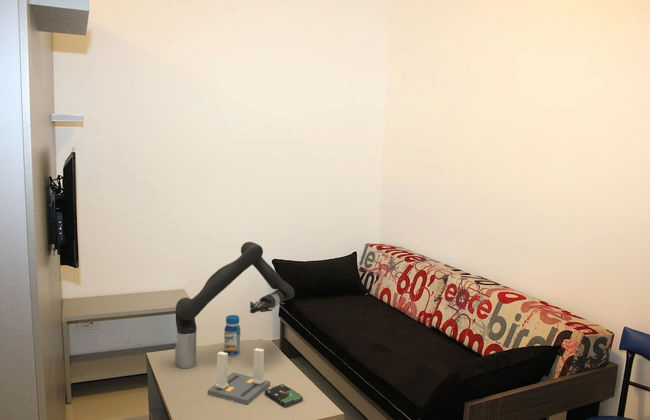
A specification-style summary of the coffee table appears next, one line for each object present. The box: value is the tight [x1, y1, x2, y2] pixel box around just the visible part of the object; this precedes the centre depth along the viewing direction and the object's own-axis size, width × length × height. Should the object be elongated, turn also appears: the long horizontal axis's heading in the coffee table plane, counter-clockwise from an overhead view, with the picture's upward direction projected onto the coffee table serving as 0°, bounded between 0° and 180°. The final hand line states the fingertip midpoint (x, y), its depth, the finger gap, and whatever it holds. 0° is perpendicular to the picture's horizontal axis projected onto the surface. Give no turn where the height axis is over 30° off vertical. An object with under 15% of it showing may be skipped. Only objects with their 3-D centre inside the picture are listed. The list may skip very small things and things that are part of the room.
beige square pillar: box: [214, 351, 229, 389], centre depth 232 cm, size 4×4×15 cm
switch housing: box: [207, 371, 271, 405], centre depth 236 cm, size 20×20×2 cm
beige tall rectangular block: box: [252, 347, 265, 385], centre depth 238 cm, size 4×4×15 cm
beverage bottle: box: [223, 314, 241, 357], centre depth 274 cm, size 8×8×20 cm
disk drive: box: [264, 383, 304, 409], centre depth 231 cm, size 10×3×15 cm
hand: (251, 311), depth 252 cm, fingers closed
